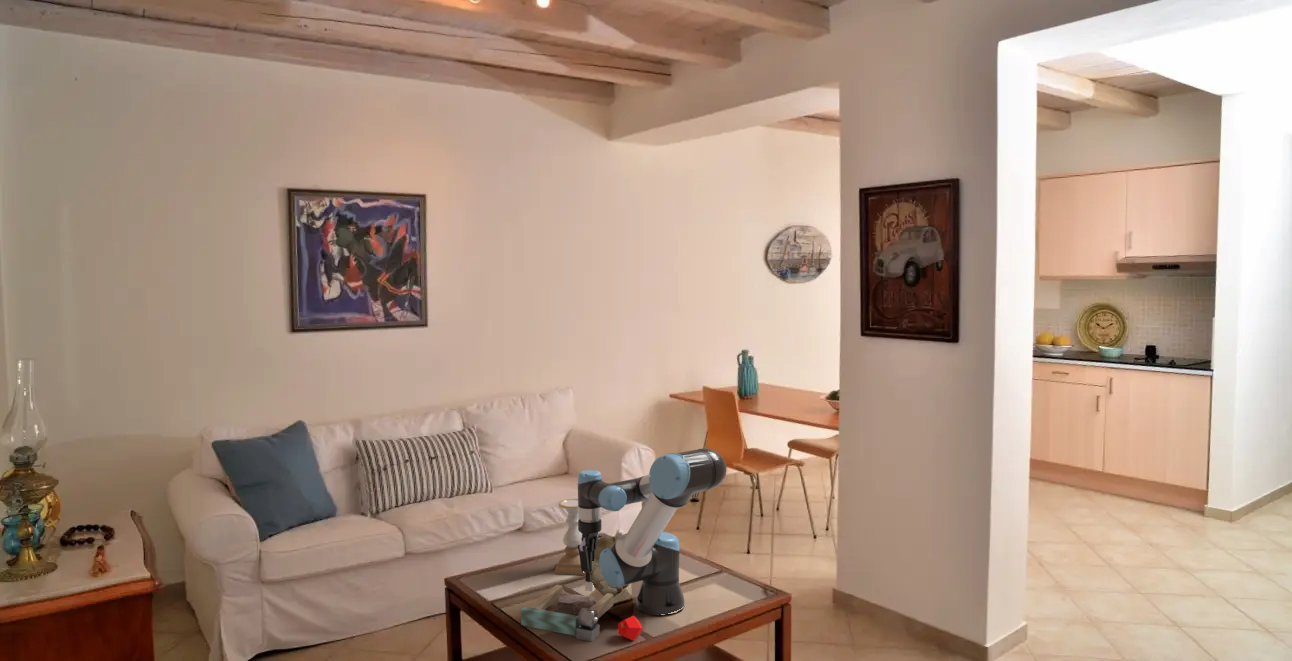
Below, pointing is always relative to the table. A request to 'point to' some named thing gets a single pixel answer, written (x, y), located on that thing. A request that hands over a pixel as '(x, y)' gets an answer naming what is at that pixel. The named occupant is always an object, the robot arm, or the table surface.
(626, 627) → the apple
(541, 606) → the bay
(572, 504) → the candle holder
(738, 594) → the table surface
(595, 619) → the winch
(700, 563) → the table surface
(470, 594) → the table surface
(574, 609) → the stone
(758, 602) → the table surface
